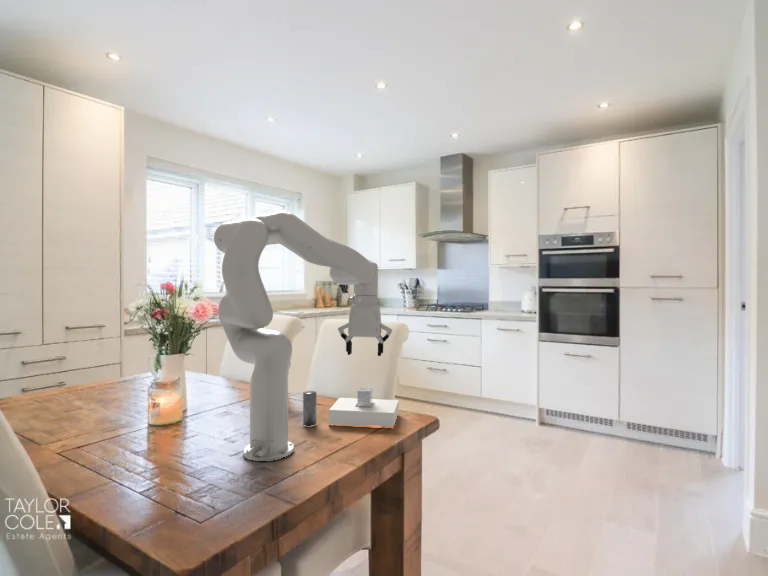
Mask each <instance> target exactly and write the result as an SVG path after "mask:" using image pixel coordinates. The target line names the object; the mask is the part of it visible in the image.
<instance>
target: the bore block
mask: <svg viewBox="0 0 768 576" xmlns="http://www.w3.org/2000/svg"><path fill="white" fill-rule="evenodd" d="M397 415H398V416H399V400H398V399H385V398H384V399H378V398H372V408H367V407H358V397H357V398H356V397H354V398H353V397H338V399H336V401H335V402H334V403H333V405H332V406H331V407H330V408H329V409H328V425H329V424H347V425H348V424H349V425H379V426H394V424H395V421H396V418H397ZM397 419H398V418H397ZM396 422H397V421H396ZM395 425H396V424H395Z"/></svg>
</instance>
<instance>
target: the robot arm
mask: <svg viewBox="0 0 768 576" xmlns="http://www.w3.org/2000/svg"><path fill="white" fill-rule="evenodd" d="M213 241H214V242H213V243H214V244H215V246H216V248H217V249H218V250H219V251H221V253H223V254H224V256H223V257H222V258H223V259H222V263H221V275H222V278H223V279H222V280H223V283H224V286H225V289H226V292H227V293H226V294H225V295H224V296H223V297H222V298H221V299H220V301H219V304H218V318H219V320H220V321H219V322H220V323H221V327H222V328H223V330H224V333H225V336H226V337H227V339H228V340H227V341H228V342H229V345H230V347H231V349H232V351H233V353H234V355H235V356H236V358H238V359H239V360H241V361H242V362H245V363H248V364H250V365H251V364H252V365H254V366H253V367H254V368H253V370H252V374H251V377H250V382H249V444H248V445H246V446H245V447H244V448H243V457H244V458H245V459H247V460H249V461H252V460H253V461H254V462H259V461H267V462H274V461H273V460H275V461H278V459H279V460H282V459H281V458H283V457H285V458H287V457H289V456H290V454H291V453H292V452H294V451H295V445H294V443H293V442H291V441H289V401H288V400H289V371H290V368H289V366H290V367H291V365H290V361H292V356H293V355H292V354H293V348H292V346H293V345H292V342H291V340H290V338H289V337H288V336H287V335H286V334H285V333H284V332H282V331H279V330H274V329H268V328H266V327H267V326H269V325H270V324H271V323H272V320H273V317H274V310H273V306H272V303H271V300H270V298H269V296H268V292H267V291H266V287H265V285H264V283H263V280H262V277H261V273H260V270H259V266H260V265H259V264H260V263H259V262H260V258H261V255H262V253H263V251H264V249H265V248H266V246H271V245H281V246H283V247H285V248H286V249H288V250H289V251H290V252H292V253H294V254H295V255H297V257H299V258H301V259H303V260H304V261H306V262H308V263H310V264H313V265H317V266H319V267H321V266H322V267H328V268H330V269H329V276H330V278H331V280H332V281H333V282H335V283H336V284H338V285H344V286H345V285H346V286H347V285H353V295H352V296H349V298H348V301H349V302H352V305H350V307H349V315H348V322H347V323H345V324H344V325H341V326H340V327H338V328H337V330H338V333H339V335H340V337H341V338H342V340H344V342H345V352H346V353H347V355H348V356H350V355H352V354H353V353H352V352H353V342H352V338H375V339H377V341H378V343H377V356H378V357H381V356H382V354H384V343H385V342H386V341H387V340H388V339H389V337H390V336H391V334H392V332H393V329H392V328H391V327H389V326H387V325H386V324H384V323H382V315H381V308H380V305H378V293H379V292H378V291H379V289H378V288H379V287H378V286H379V284H378V283H379V281H378V280H379V279H378V278H379V265H378V264H377V263H376V262H372V261H370V260H369V259H368V258H366V257H365V256H364V255H363V254H362V253H360V252H359V251H357V250H356V249H354V248H352V247H350V246H348V245H345V244H342V243H340V242H338V241H335V240H333V239H331V238H328V237H325V236H324V235H322V234H321V233H320V232H319V231H317V230H316V229H314V228H313V227H312V226H311V225H309V224H308V223H306V222H305V221H303V220H302V219H300V217H298V216H297V215H295V214H294V213H292V212H291V211H287V210H280V211H274V212H268V213H263V214H259V215H255V216H251V217H247V218H241V219H237V220H231V221H227V222H226V221H225V222H223V223H222V224H220V225H219V226H218V227H216V229H215V231H214V235H213ZM345 329H347V334H348V335H347V334H346V333H345ZM382 330H384V331H385V332H386V333H385V335H384V336H382V335H381V334H382ZM292 454H293V453H292ZM292 454H291V455H292ZM288 455H289V456H288ZM286 456H287V457H286ZM283 459H284V458H283ZM253 461H252V462H253Z"/></svg>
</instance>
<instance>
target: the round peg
mask: <svg viewBox="0 0 768 576" xmlns="http://www.w3.org/2000/svg"><path fill="white" fill-rule="evenodd" d="M302 399H303V400H302V402H303V406H302V407H303V409H302V425H306V426H311V425H315V424H316V425H317V391H313V390H307V391H304V392H303V394H302Z"/></svg>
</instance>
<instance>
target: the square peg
mask: <svg viewBox="0 0 768 576" xmlns="http://www.w3.org/2000/svg"><path fill="white" fill-rule="evenodd" d="M357 398H358V407H367V408H372V399H373V388H371V387H359V388H358V390H357Z"/></svg>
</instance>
